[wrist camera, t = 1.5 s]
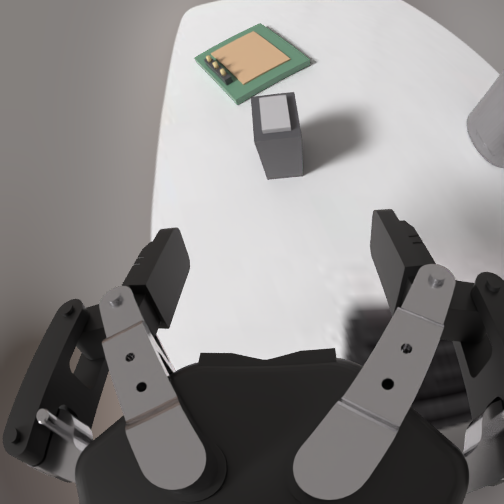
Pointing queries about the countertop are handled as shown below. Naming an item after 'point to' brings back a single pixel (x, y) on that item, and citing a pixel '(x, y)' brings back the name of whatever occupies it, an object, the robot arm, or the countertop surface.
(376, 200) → the countertop surface
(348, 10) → the countertop surface
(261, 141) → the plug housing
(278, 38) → the circuit board
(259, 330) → the countertop surface
